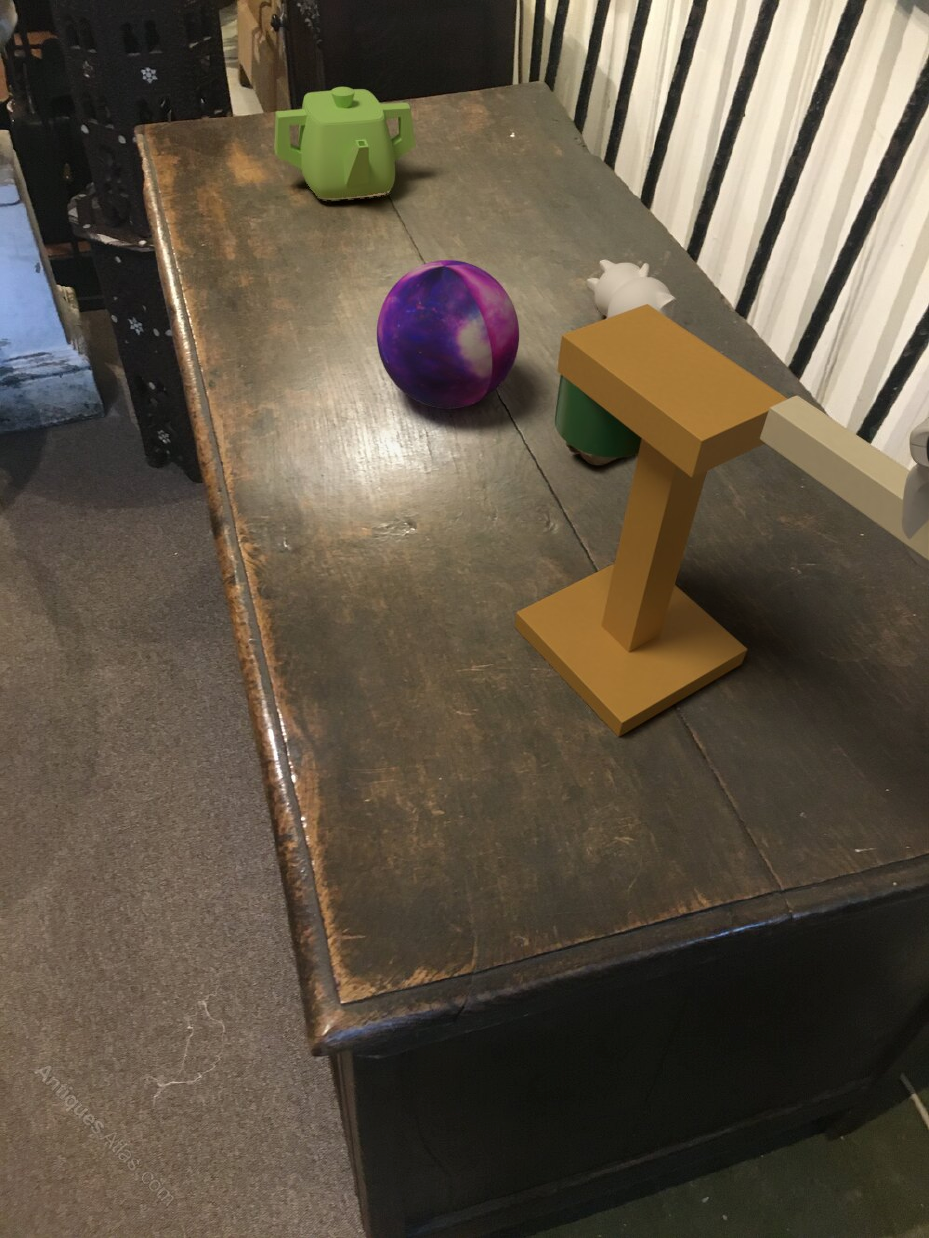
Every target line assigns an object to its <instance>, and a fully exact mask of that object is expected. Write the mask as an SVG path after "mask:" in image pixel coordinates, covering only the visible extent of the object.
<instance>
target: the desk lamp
mask: <svg viewBox="0 0 929 1238" xmlns="http://www.w3.org/2000/svg"><path fill="white" fill-rule="evenodd" d="M606 318H607V317H606ZM606 318H604V319H602V320H599V321H596V322H593V323H591V324H587V325H584V326H583V327H580V328H576V329H574V330H571V331H569V332H566V333H563V334H561V338H560V345H559V346H560V348H559V354H558V361H557V370H556V372H558V374H560V376H559V382H558V383H559V384H558V391H557V392H558V393H557V399H556V407H555V415H554V426H555V428H556V431H557V433H558V435H559V436H560V437H561V438H562V439H563V440H564V441H565V443H566V442H567V443H569V444H570V445H571V446H573V447H575V448H576V449H578V450H580V451H583V452H585V453H588V454H591V455H595V456H600V457H608V458H617V459H619V458H621V459H622V458H629V457H633V456H637V458H636V463H635V468H634V472H633V477H632V481H631V486H630V491H629V495H628V500H627V504H626V510H625V514H624V517H623V518H624V519H623V523H622V528H621V532H620V537H619V541H618V546H617V552H616V555H615V561H614V563H612V564H610V565H609V566H606V567H605V568H602V569H600V570H598V571H596V572H593V574H591V575H588V576H586V577H584V578H582V579H581V580H578V581H577V582H574V583H572V584H570V585H569V586H566V587H564V588H562V589H561V590H559V591H556V592H553V593H552V594H550V595H548V596H546V597H544V598H543V599H540V600H537V601H536V602H534V603H532V604H530V605H528V606H526V607H524V608H521V609H520V610H518V611H516V612H515V622H514V628H515V629H516V631H518V633H520V635H522V637H523V638H524V639H525V640H526V641H527V642H528V643H529V644H530V645H531V646H532V647H533V648H534V650H536V651H537V652H538V653H539V655H540V656H541V657H542V658H543V659H544V660H545V661H546V662H547V663H548V664H549V665H550V666H551V667H552V669H554V671H555V672H557V674H558V675H559V676H560V677H561V678H562V679H563V681H564V682H566V683H567V684H568V686H570V687H571V689H572V690H573V691H574V692H575V693H577V695H578V696H579V697H580V698H581V699H582V700H583V701H584V703H586V704H587V705H588V706H589V708H591V711H593V712H594V713H595V714H596V715H597V716H598V717H599V718H600V720H602V721H603V723H604V724H605V725H606V726H608V728H609V729H610V730H611V731H612V732H613V733H614V734H615V736H617V738H620V737H621V736H623V735H624V734H627V733H628V732H630V731H631V730H633V729H635V728H636V727H638V726H640V725H642V724H643V723H645V722H646V721H648V720H650V719H651V718H653V717H655V716H656V715H658V714H660V713H662V712H663V711H665V710H667V709H669V708H670V707H672V706H674V705H675V704H677V703H679V702H680V701H682V700H683V699H685V698H687V697H688V696H690V695H692V694H695V692H697V691H699V690H700V689H702V688H704V687H705V686H707V685H709V684H711V683H712V682H713V681H716V680H717V679H719V678H720V677H723V676H724V675H726V674H727V673H729V672H731V671H732V670H734V669H736V668H737V667H740V665H742V664H743V662H744V659H745V657H746V654H747V651H748V648H747V647H746V646H744V645H743V644H742V643H741V642H740V641H739V640H738V639H737V638H736V637H734V636H733V635H732V634H731V633H730V632H729V631H727V629H725V628H724V627H723V626H722V625H721V624H720V623H719V622H717V621H716V619H714V618H713V617H712V616H711V615H710V614H709V613H708V612H706V611H705V610H704V609H703V608H702V607H701V606H699V604H697V603H696V602H695V601H694V600H693V599H691V598H690V597H689V596H688V595H687V594H686V593H685V592H683V590H682V589H680V588H679V587H678V586H677V585H676V582H677V578H678V574H679V571H680V568H681V564H682V561H683V558H684V553H685V550H686V548H687V543H688V539H689V536H690V532H691V529H692V526H693V522H694V518H695V516H696V512H697V508H698V505H699V502H700V499H701V495H702V491H703V488H704V484H705V481H706V478H707V475H708V474H707V473H708V471H710V470H712V469H714V468H716V467H719V466H722V464H725V463H727V462H729V461H731V460H733V459H735V458H738V457H740V456H742V455H744V454H747V453H748V452H751V451H753V450H755V449H757V448H759V447H761V446H763V445H766V443H764V442H763V441H762V440H760V436H761V433H762V430H763V427H764V424H765V421H766V418H767V415H768V412H769V409H770V407H772V406H774V405H776V404H778V403H781V402H783V401H785V400H787V399H788V398H787V397H786V396H784V395H783V394H782V393H780V392H779V391H778V390H776V389H774V388H773V387H772V386H769V385H768V384H767V383H765V382H763V381H762V380H761V379H759V378H758V377H757V376H755V375H753V374H752V373H750V372H749V371H748V370H746V369H744V368H743V367H741V365H738V364H737V363H735V362H734V361H732V360H731V359H730V358H728V357H727V356H725V355H724V354H722V353H721V352H719V351H718V350H716V349H715V348H714V347H712V346H710V345H708V343H706V342H704V341H703V340H701V339H700V338H699V337H697V336H696V335H694V334H692V333H691V332H690V331H688V330H687V329H685V328H684V327H682V326H681V325H680V324H678V323H677V322H675V321H673V319H672V320H670V319H669V318H667V317H666V316H664V315H663V314H662V313H660V312H659V311H657V310H656V309H654V308H653V307H651V306H650V305H648V304H646V305H643V306H640V307H637V308H635V309H632V310H629V311H626V312H623V313H621V314H618V315H615V316H612V317H610V318H607V319H606Z"/></svg>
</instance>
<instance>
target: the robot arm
mask: <svg viewBox="0 0 929 1238" xmlns="http://www.w3.org/2000/svg"><path fill="white" fill-rule="evenodd" d="M908 441H909V443H908V444H909V453H910V456H911V459H912V460H913V462H914V463H916V464H915V465H914V466H913V467H911V469H910V472H909V473H908V475H907V478H906V481H905V485H904V493H903V504H902V528H903V532H904V533H905V535H906V536H907V538H908V539H911V538H912V537H913V536H914V535H915V534H916V532H917V531H918V530H919V529H920V528H921V527H922V526H923V525H924V524H925V523H926V522H927V521H928V520H929V416H928V417H926V418H925V419H924V420H923V421H921V422H920V423H919V424H918V425H916V426H915V427H914V428H912V430H911V432H910V435H909V439H908ZM902 545H903V548H904V549H905V551H906V553H907V554H908V556H909V557H910V558H911V560H912V561H913V562H914V564H915V565H916V566H918V567H920V568H923V580H924V581H925V584H926V585H927V586H928V588H929V561H928V560H927V559H925V558H924V557H923V556H921V555H920V554H918V553H917V552H916V551H914V550H913V549H911V548H910V547H909V546H907V545H906V544H905V543H903V542H902Z"/></svg>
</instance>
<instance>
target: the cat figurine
mask: <svg viewBox="0 0 929 1238" xmlns="http://www.w3.org/2000/svg"><path fill="white" fill-rule="evenodd" d="M599 267H600V269H601V270H602V272H603V273H602V275H601V276H600V277H599V278H597V277H590V278H587V279H586V285H587V287H588V288H589V289H590V290H591V291H592V292H593V293H594V297H593V298H594V303H595V306H596V308H597V310H598V311H599V312H600V313H601V314H602V315H603V316H605V317H606V318H605V319H607V318H610V317H612V316H615V315H618V314H621V313H623V312H626V311H629V310H632V309H635V308H637V307H640V306H643V305H646V304H648V305H650V306H651V307H653V308H654V309H656V310H657V311H659V312H660V313H662V314H663V315H664V316H666V317H667V318H669V319H670V320H672V321H673V318H674V317H673V316H674V310H675V309H674V308H675V307H674V306H675V303H676V301H677V298H676V297H675V296H674V295H672V294H671V291H670V290H669V288H668V287H667V286H666V284H665V283H663V282H662V281H661V280H660V279H657V278H654V277H651V276H649V272H650V264H649V263H647V262H645V263H643V264H642V266H641V267H640V266H639V265H637V264H635V263H633V262H619V263H615V262H612V261H610V260H608V259H601V260H600V261H599Z"/></svg>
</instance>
